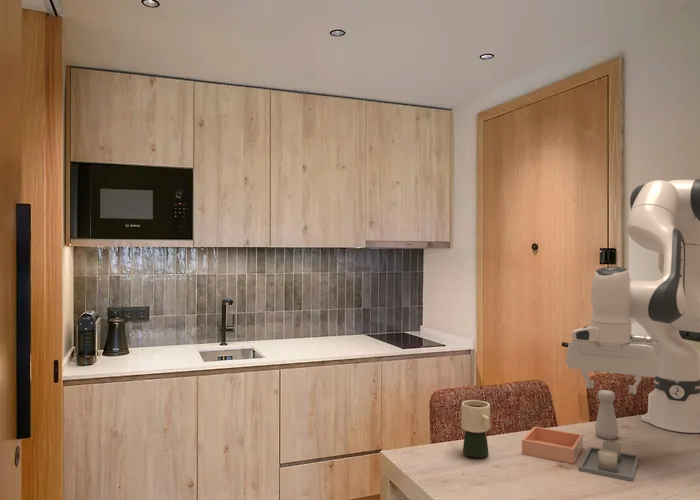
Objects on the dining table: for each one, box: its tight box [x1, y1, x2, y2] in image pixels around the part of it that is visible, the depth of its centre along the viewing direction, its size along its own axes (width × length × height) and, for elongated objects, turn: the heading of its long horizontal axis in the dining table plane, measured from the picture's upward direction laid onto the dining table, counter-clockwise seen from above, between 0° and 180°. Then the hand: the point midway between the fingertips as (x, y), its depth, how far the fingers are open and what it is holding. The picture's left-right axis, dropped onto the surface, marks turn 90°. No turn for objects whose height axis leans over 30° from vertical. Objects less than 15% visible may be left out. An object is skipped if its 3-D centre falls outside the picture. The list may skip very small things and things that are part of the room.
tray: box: [578, 446, 640, 483], centre depth 130 cm, size 15×11×1 cm
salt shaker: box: [594, 389, 619, 441], centre depth 149 cm, size 6×6×13 cm
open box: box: [521, 426, 584, 465], centre depth 139 cm, size 12×12×4 cm
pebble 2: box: [598, 450, 617, 473], centre depth 127 cm, size 4×4×4 cm
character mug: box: [460, 399, 491, 458], centre depth 137 cm, size 11×7×13 cm, turn 20°
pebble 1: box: [602, 440, 622, 463], centre depth 133 cm, size 4×4×4 cm
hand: (610, 390), depth 133 cm, fingers open, 8 cm apart
